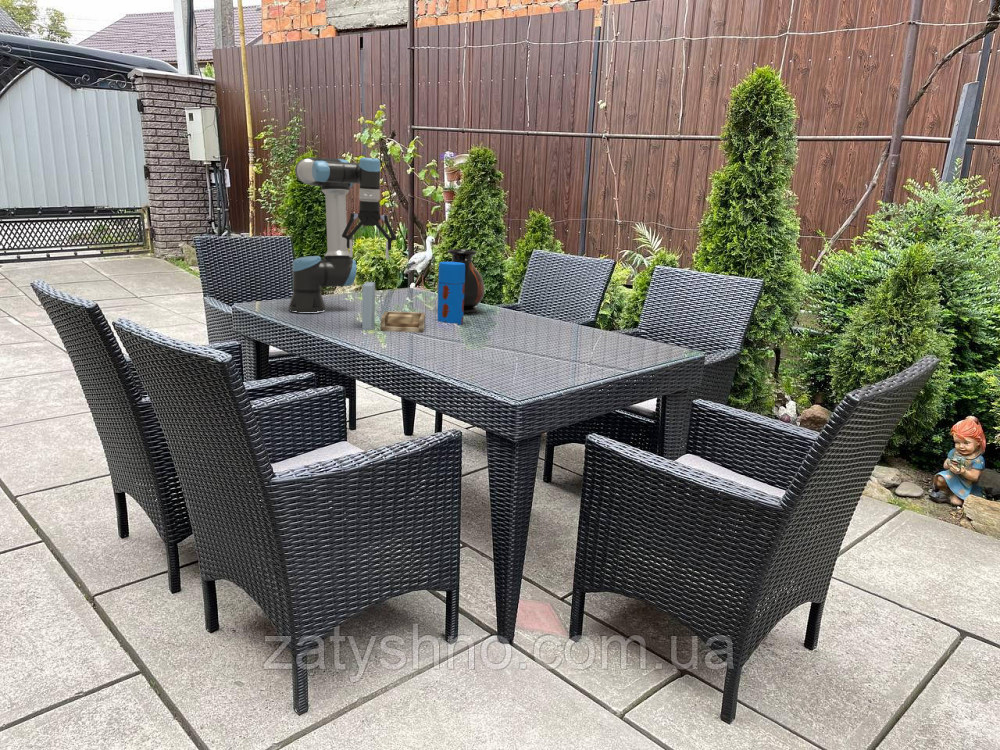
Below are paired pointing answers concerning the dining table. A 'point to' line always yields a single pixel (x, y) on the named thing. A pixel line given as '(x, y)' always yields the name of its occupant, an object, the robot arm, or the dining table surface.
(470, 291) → the amphora vase
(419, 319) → the box
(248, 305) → the dining table surface
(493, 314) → the dining table surface
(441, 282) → the thermos
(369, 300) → the pale blue block
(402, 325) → the offcut
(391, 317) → the offcut
